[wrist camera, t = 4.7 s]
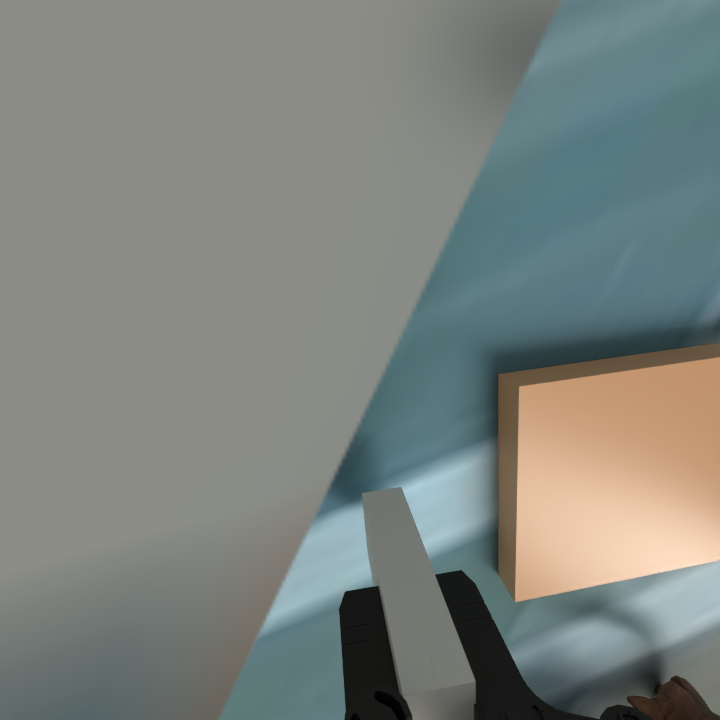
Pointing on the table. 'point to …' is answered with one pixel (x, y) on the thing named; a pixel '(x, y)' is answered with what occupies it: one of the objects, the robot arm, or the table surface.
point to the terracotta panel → (608, 470)
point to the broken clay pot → (674, 702)
